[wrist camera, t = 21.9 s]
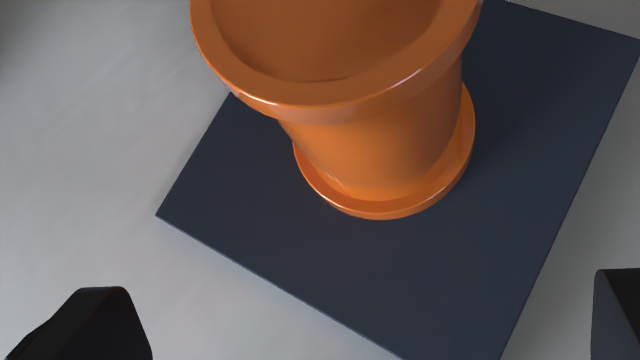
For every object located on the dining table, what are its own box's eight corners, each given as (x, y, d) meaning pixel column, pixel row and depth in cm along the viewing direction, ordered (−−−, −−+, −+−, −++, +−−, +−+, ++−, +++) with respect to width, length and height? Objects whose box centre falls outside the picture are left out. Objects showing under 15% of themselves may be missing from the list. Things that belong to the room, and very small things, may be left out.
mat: (641, 49, 17) (646, 40, 16) (478, 403, 15) (479, 404, 14) (321, -45, 21) (318, -54, 21) (161, 218, 19) (153, 215, 19)
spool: (465, 46, 18) (470, -177, 10) (484, 213, 16) (505, 86, 8) (299, 68, 19) (198, -115, 12) (297, 226, 17) (175, 124, 10)
